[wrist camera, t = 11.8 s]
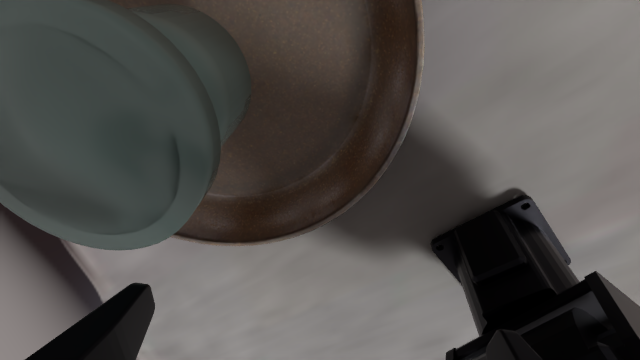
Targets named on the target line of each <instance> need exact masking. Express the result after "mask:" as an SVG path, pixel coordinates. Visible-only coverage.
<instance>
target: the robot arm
mask: <svg viewBox="0 0 640 360" xmlns="http://www.w3.org/2000/svg"><path fill="white" fill-rule="evenodd" d="M524 203H527V204H526V205H524V206H521V205H522V204H524ZM437 245H441V246H437ZM431 247H432V250H433V252H434V253H435V254H436V255H437V256H438V257H439V259H440V260H441V261H442V262H443V263H444V264H445V266H446V267H447V268H448V269H449V270H450V271H451V272H452V274H453V275H454V276H455V277H456V278H457V279H458V281H459V282H460V283H461V284H462V286H463V289H464V292H465V295H466V298H467V301H468V304H469V307H470V310H471V313H472V316H473V319H474V322H475V325H476V328H477V331H478V334H479V337H478V338H476V339H474V340H472V341H470V342H468V343H467V344H465V345H463V346H461V347H459V348H457V349H456V348H453V349H452V350H450V351H448V352H446V360H640V306H638V305H637V304H636V303H635V302H633V301H632V300H631V299H630V298H629V297H627V296H626V295H625V294H624V293H622V292H621V291H620V290H619V289H618V288H616V287H615V286H614V285H613V284H611V283H610V282H609V281H608V280H607V279H605V278H604V277H603V276H602V275H600V274H599V273H598V272H597V271H595V272H593V273H591V274H589V275H587V276H585V280H583V281H581V282H579V280H578V279H577V278H576V276H575V275H574V273H573V272H572V270H571V269H570V268H569V266H568V265H569V264H570V263H571V260H570V258H569V256H568V255H567V253H566V252H565V250H564V248H563V247H562V245H561V244H560V242H559V240H558V239H557V237H556V236H555V234H554V233H553V231H552V229H551V228H550V226H549V225H548V223H547V221H546V220H545V218H544V217H543V215H542V214H541V212H540V210H539V209H538V207H537V206H536V204H535V202H534V201H533V200H532V198H531V197H529V196H527V195H523V196H520V197H518V198H516V199H514V200H512V201H509V202H507V203H505V204H503V205H501V206H499V207H497V208H495V209H493V210H491V211H489V212H487V213H485V214H483V215H481V216H479V217H477V218H475V219H473V220H471V221H469V222H467V223H465V224H463V225H461V226H459V227H457V228H455V229H453V230H451V231H449V232H447V233H445V234H443V235H441V236H439V237H437V238H435V239H433V240H432V242H431ZM154 310H155V303H154V299H153V295H152V291H151V287H150V286H149V285H148V284H142V283H132V284H130V285H129V286H127V287H126V288H124V289H123V290H122V291H120V292H119V293H117V294H116V295H115V296H113V297H112V298H110V299H109V300H108V301H106V302H105V303H103V304H102V305H101V306H100V307H98V308H97V309H95V310H94V311H92V312H91V313H89V314H88V315H87V316H85V317H84V318H82V319H81V320H80V321H79V322H77V323H76V324H74V325H73V326H71V327H70V328H69V329H67V330H66V331H64V332H63V333H62V334H60V335H59V336H57V337H56V338H55V339H53V340H52V341H50V342H49V343H48V344H46V345H45V346H43V347H42V348H41V349H39V350H38V351H36V352H35V353H34V354H32V355H31V356H30V357H28V358H27V359H25V360H136V357H137V355H138V352H139V350H140V347H141V345H142V342H143V340H144V337H145V334H146V332H147V329H148V327H149V324H150V322H151V319H152V316H153V314H154Z"/></svg>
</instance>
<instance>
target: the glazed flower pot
mask: <svg viewBox="0 0 640 360" xmlns="http://www.w3.org/2000/svg"><path fill="white" fill-rule="evenodd" d="M250 100H251V77H250V72H249V68H248V65H247V62H246V60H245V57H244V55H243V53H242V51H241V49H240V47H239V46H238V44H237V43H236V41H235V40H234V38H233V37H232V36H231V35H230V34H229V33H228V31H227V30H226V29H225V28H224V27H223V26H221V25H220V24H219V23H218V22H217V21H215V20H214V19H213V18H211V17H210V16H208V15H206V14H205V13H203V12H201V11H199V10H196V9H194V8H191V7H188V6H184V5H178V4H159V5H150V6H142V7H134V8H124V7H123V6H121V5H119V4H116V3H114V2H111V1H109V0H0V203H2V204H3V205H4V206H5V207H7V208H8V209H9V210H11V211H12V212H14V213H15V214H16V215H18V216H19V217H21V218H22V219H24V220H26V221H27V222H29V223H30V224H32V225H34V226H36V227H38V228H40V229H42V230H43V231H46V232H47V233H50V234H52V235H54V236H57V237H59V238H61V239H64V240H67V241H70V242H73V243H76V244H80V245H84V246H88V247H92V248H99V249H105V250H133V249H138V248H144V247H148V246H151V245H154V244H157V243H159V242H161V241H163V240H165V239H167V238H169V237H170V236H172V235H173V234H174V233H176V232H177V231H178V230H179V229H180V228H181V227H182V226H183V225H184V224H185V223H186V222H187V221H188V219H189V218H190V217H191V215H192V214H193V212H194V211H195V210H196V208H197V207H198V205H199V204H200V203H201V201H202V200H203V198H204V197H205V196H206V194H207V193H208V191H209V190H210V188H211V187H212V184H213V182H214V180H215V178H216V175H217V171H218V168H219V164H220V155H221V146H222V145H223V144H224V143H225V142H226V140H227V139H228V138H229V137H230V136H231V134H232V133H233V132H234V131H235V130H236V128H237V127H238V126H239V125H240V124H241V122H242V120H243V119H244V117H245V115H246V113H247V111H248V108H249V104H250Z"/></svg>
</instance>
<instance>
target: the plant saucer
mask: <svg viewBox="0 0 640 360" xmlns="http://www.w3.org/2000/svg"><path fill="white" fill-rule="evenodd" d="M109 1H111V2H114V3H116V4H119V5H121V6H123V7H124V8H134V7H142V6H150V5H159V4H178V5H184V6H188V7H191V8H194V9H196V10H199V11H201V12H203V13H205V14H206V15H208V16H210V17H211V18H213V19H214V20H215V21H217V22H218V23H219V24H220V25H221V26H223V27H224V28H225V29H226V30H227V31H228V33H229V34H230V35H231V36H232V37H233V38H234V40H235V41H236V43H237V44H238V46H239V47H240V49H241V51H242V53H243V55H244V57H245V60H246V62H247V65H248V68H249V72H250V77H251V100H250V104H249V108H248V111H247V113H246V115H245V117H244V119H243V120H242V122H241V124H240V125H239V126H238V127H237V128H236V130H235V131H234V132H233V133H232V134H231V136H230V137H229V138H228V139H227V140H226V142H225V143H224V144H223V145H222V146H221V155H220V164H219V168H218V171H217V175H216V178H215V180H214V182H213V184H212V187H211V188H210V190H209V191H208V193H207V194H206V196H205V197H204V198H203V200H202V201H201V203H200V204H199V205H198V207H197V208H196V210H195V211H194V212H193V214H192V215H191V217H190V218H189V219H188V221H187V222H186V223H185V224H184V225H183V226H182V227H181V228H180V229H179V230H178V231H177V232H176V233H174V234H173V235H172V236H170V237H172V238H176V239H180V240H185V241H189V242H195V243H199V244H206V245H216V246H254V245H261V244H268V243H274V242H278V241H282V240H286V239H290V238H294V237H297V236H299V235H302V234H305V233H307V232H310V231H312V230H314V229H317V228H319V227H321V226H323V225H325V224H326V223H328V222H330V221H332V220H333V219H335V218H337V217H338V216H340V215H341V214H343V213H344V212H346V211H347V210H348V209H349V208H351V207H352V206H353V205H354V204H355V203H357V202H358V201H359V200H360V199H361V198H362V197H363V196H364V195H365V194H366V193H367V192H368V191H369V190H370V189H371V188H372V187H373V186H374V185H375V184H376V183H377V181H378V180H379V179H380V178H381V176H382V175H383V173H384V172H385V171H386V169H387V168H388V167H389V165H390V164H391V162H392V160H393V159H394V157H395V155H396V153H397V152H398V150H399V148H400V146H401V144H402V142H403V140H404V138H405V136H406V133H407V131H408V129H409V126H410V123H411V121H412V118H413V115H414V111H415V108H416V104H417V100H418V96H419V91H420V86H421V78H422V71H423V62H424V48H425V45H424V20H423V10H422V2H421V0H109Z"/></svg>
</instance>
